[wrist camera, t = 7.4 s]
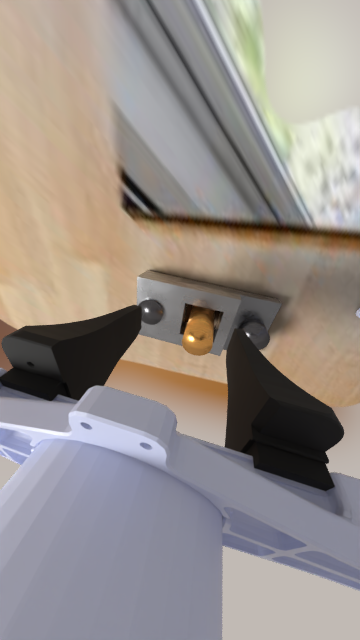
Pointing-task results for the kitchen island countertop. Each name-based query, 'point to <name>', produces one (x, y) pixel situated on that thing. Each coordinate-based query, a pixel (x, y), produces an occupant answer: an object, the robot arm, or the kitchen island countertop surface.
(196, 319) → the pin
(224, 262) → the kitchen island countertop surface
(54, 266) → the kitchen island countertop surface
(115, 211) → the kitchen island countertop surface
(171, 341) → the gray slab
